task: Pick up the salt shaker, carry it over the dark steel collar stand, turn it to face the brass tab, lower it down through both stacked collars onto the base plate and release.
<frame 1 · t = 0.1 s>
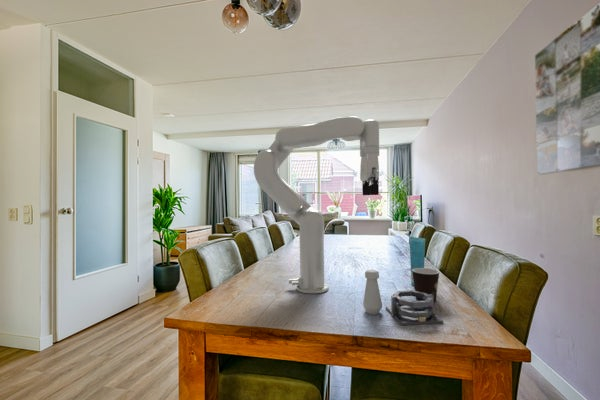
hand: (370, 195, 115), 37 cm above the table, tool pointing down, fingers open, 9 cm apart
salt shaker: (372, 312, 90), on the table
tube: (417, 285, 116), on the table
coffee mug: (428, 299, 100), on the table
collar stand: (412, 315, 86), on the table
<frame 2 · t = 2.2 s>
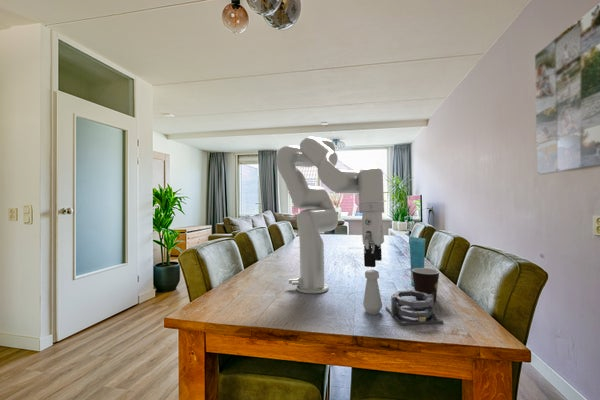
hand: (373, 263, 89), 15 cm above the table, tool pointing down, fingers open, 9 cm apart
nothing on the table moved.
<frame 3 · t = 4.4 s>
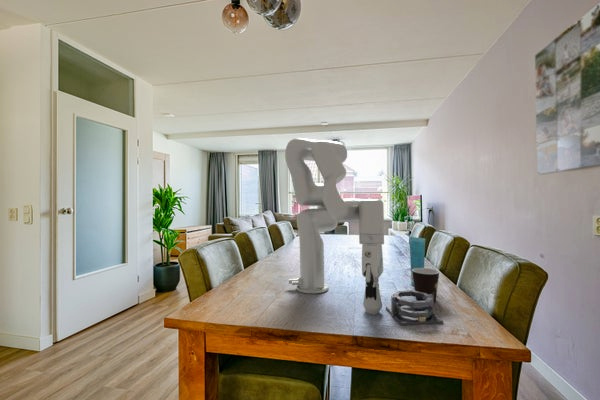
hand: (372, 297, 90), 5 cm above the table, tool pointing down, fingers closed on salt shaker, 3 cm apart
salt shaker: (372, 312, 90), on the table, touching gripper
everything else where it was.
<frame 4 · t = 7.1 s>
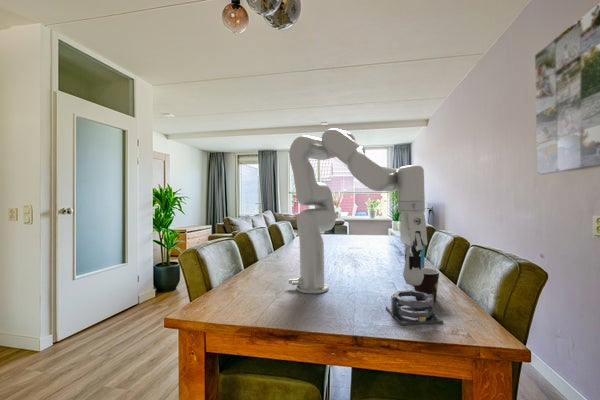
hand: (412, 267, 86), 14 cm above the table, tool pointing down, fingers closed on salt shaker, 3 cm apart
salt shaker: (413, 284, 86), point 10 cm above the table, touching gripper
everything else where it was.
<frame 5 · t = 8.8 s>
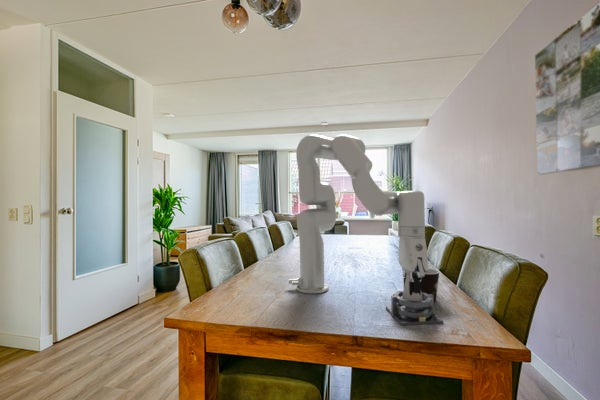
hand: (412, 292, 86), 7 cm above the table, tool pointing down, fingers closed on salt shaker, 3 cm apart
salt shaker: (412, 308, 86), point 2 cm above the table, touching gripper
everything else where it was.
when the fingers open (7 cm above the table, at t = 9.8 s): salt shaker stays where it is, resting on collar stand.
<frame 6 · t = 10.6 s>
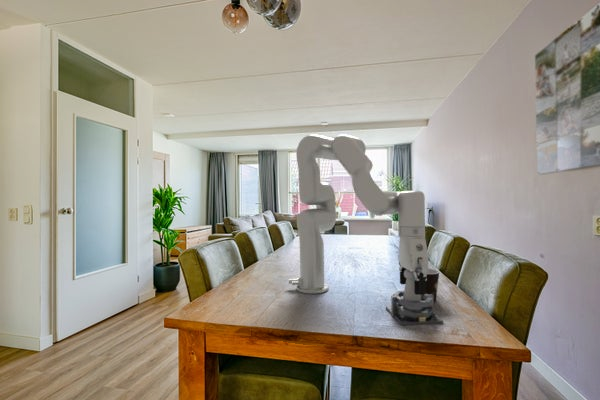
hand: (412, 288, 86), 8 cm above the table, tool pointing down, fingers open, 9 cm apart
salt shaker: (412, 313, 86), point 1 cm above the table, touching collar stand
everything else where it was.
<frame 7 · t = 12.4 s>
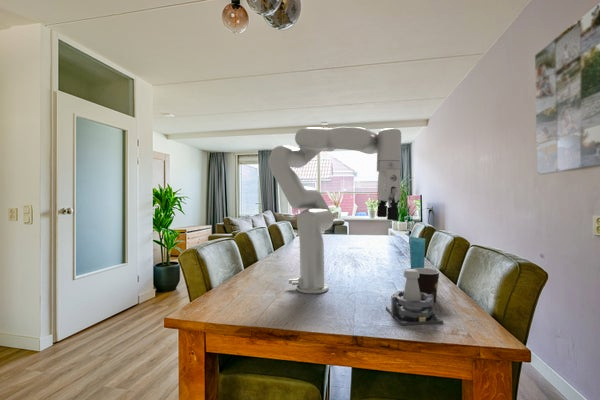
hand: (386, 218, 96), 29 cm above the table, tool pointing down, fingers open, 9 cm apart
nothing on the table moved.
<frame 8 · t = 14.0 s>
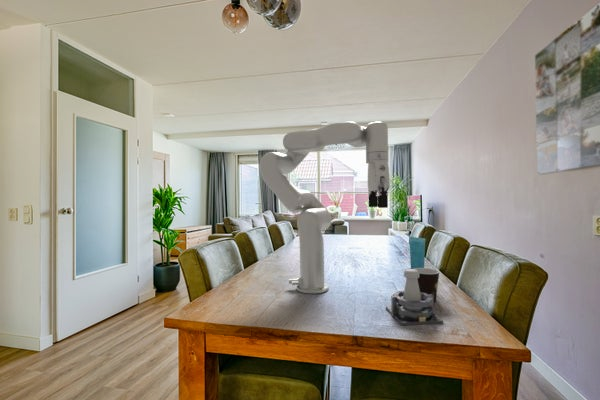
hand: (377, 207, 101), 32 cm above the table, tool pointing down, fingers open, 9 cm apart
nothing on the table moved.
at the end: salt shaker 0.1 cm off-centre on the collar stand, point 0.6 cm above the collar stand's base; salt shaker tilted 0°; the gripper is holding nothing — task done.
